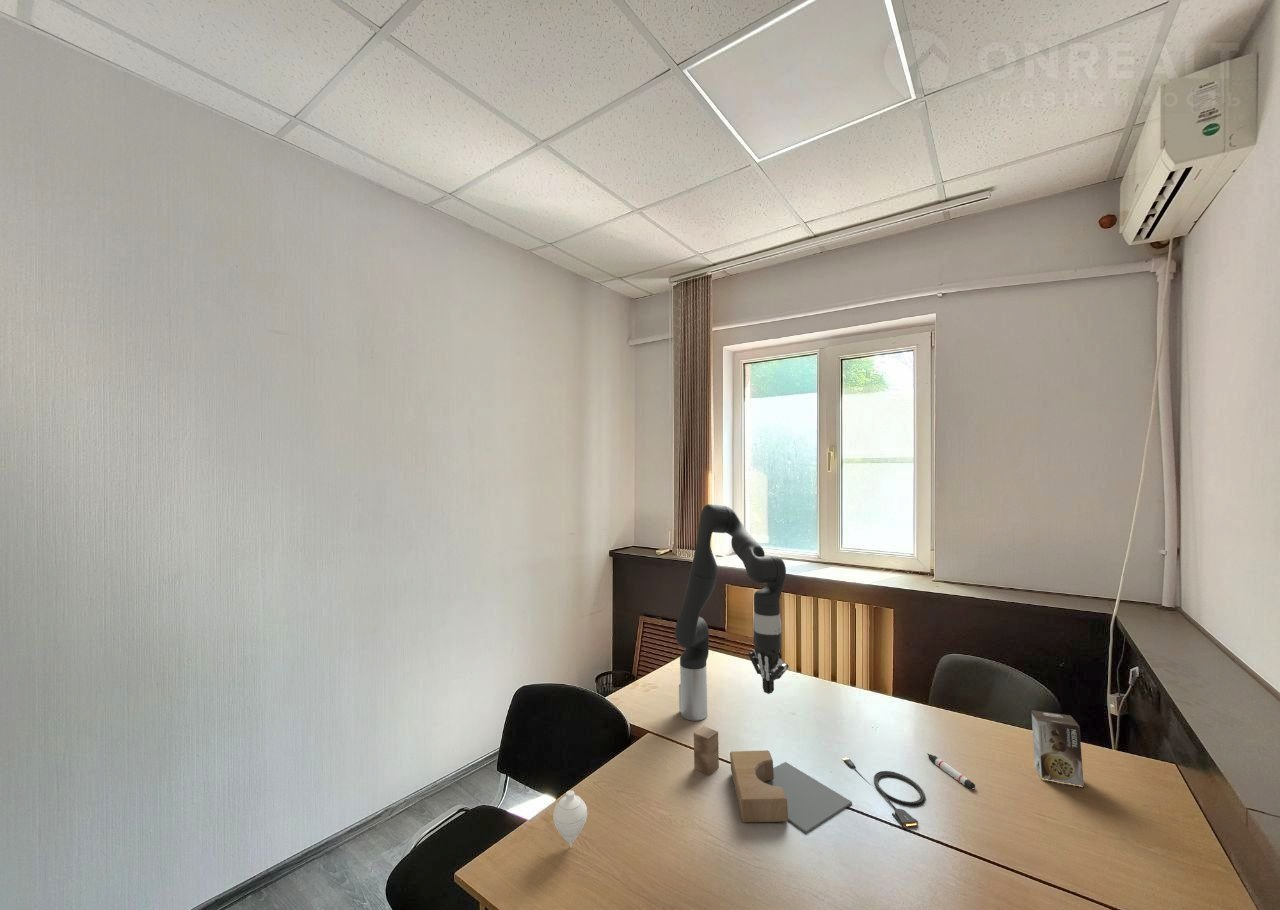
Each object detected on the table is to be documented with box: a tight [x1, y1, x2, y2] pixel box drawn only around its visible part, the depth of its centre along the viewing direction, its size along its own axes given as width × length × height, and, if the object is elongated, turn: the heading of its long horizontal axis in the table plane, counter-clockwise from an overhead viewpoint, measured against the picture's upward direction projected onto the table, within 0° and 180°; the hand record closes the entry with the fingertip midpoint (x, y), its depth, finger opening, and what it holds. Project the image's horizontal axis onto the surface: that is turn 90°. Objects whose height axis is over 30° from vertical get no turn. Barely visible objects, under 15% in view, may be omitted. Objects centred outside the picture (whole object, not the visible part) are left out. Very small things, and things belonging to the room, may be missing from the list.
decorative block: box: [729, 750, 789, 823], centre depth 126 cm, size 11×6×20 cm
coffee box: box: [1030, 709, 1085, 787], centre depth 132 cm, size 9×6×16 cm
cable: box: [842, 757, 926, 829], centre depth 129 cm, size 14×28×2 cm, turn 6°
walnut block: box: [693, 725, 720, 776], centre depth 139 cm, size 5×5×10 cm
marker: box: [927, 753, 976, 790], centre depth 135 cm, size 15×2×2 cm, turn 11°
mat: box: [764, 761, 853, 834], centre depth 127 cm, size 21×18×1 cm
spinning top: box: [552, 789, 588, 848], centre depth 110 cm, size 8×8×12 cm
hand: (768, 692), depth 134 cm, fingers closed
